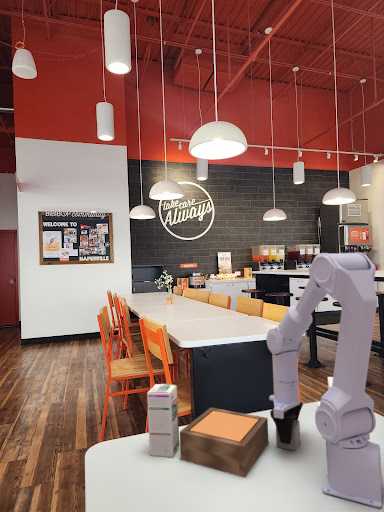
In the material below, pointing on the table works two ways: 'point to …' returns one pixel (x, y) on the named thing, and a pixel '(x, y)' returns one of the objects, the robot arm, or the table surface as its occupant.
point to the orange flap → (225, 426)
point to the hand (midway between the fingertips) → (288, 438)
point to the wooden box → (224, 446)
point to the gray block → (294, 439)
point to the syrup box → (163, 420)
